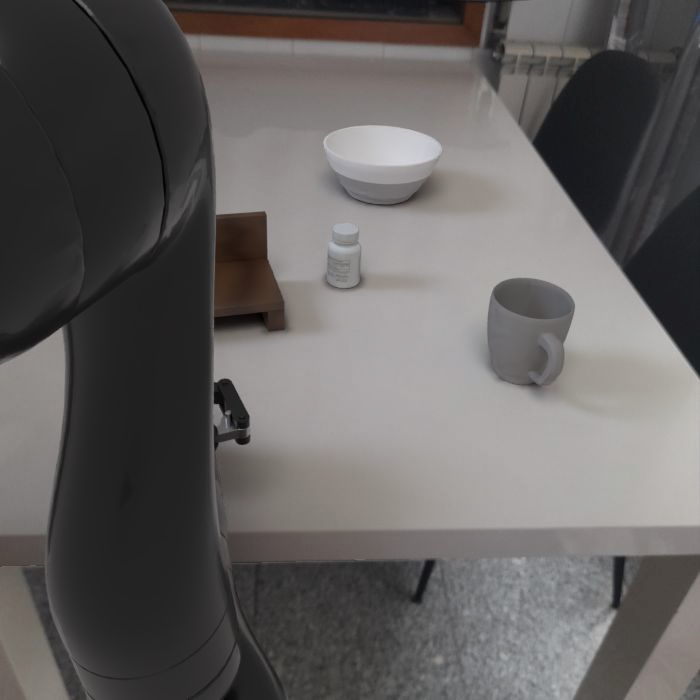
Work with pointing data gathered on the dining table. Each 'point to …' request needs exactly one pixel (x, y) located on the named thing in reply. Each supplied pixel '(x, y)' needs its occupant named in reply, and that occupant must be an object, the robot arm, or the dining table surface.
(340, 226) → the pill bottle
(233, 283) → the wooden stand
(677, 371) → the dining table surface
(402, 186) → the bowl
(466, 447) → the dining table surface
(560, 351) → the mug
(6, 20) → the robot arm
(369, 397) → the dining table surface
